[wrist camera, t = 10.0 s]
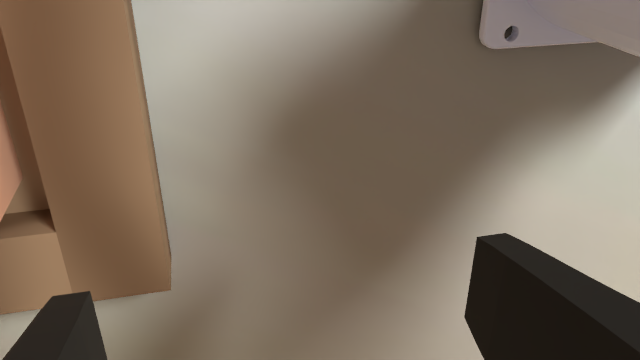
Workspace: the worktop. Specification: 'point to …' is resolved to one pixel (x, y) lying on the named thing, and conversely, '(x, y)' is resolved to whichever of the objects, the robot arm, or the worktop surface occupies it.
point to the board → (78, 156)
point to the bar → (7, 166)
